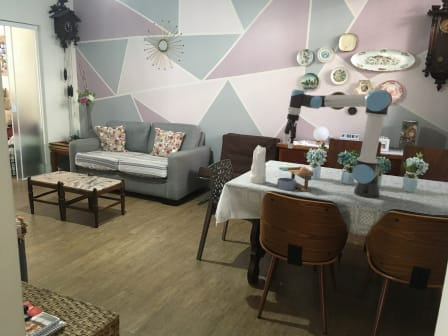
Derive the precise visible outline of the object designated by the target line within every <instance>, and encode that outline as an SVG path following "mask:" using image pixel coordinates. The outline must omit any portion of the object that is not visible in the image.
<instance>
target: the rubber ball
mask: <svg viewBox="0 0 448 336" xmlns="http://www.w3.org/2000/svg"><path fill="white" fill-rule="evenodd" d="M306 169H307V168H306V166H302V167H301V168H300V171H301V172H306Z"/></svg>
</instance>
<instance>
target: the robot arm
mask: <svg viewBox="0 0 448 336" xmlns="http://www.w3.org/2000/svg"><path fill="white" fill-rule="evenodd" d="M392 103H393V96H392V94H391V93H390V92H389V91H387V90H384V89H374V90H372V91H371V92H367V94H334V95H333V94H332V95H331V94H330V95H329V94H327V95H311V94H305V91H304V90H301V89H296V88H294V89H293V90H292V91H291V95H290V100H289V105H288V106H289V107H288V108H287V110H288V111H287V116H286V119H287V122H286V126H285V128H284V130H283V131H284V136H283V142H282V143H283V144H284V145H287V144H288V146H287V149H293V148H294V142H295V140H296V137H297V124H298V123H296V122H299V119H300V114H301V110H302V107H306V108H310V109H316V110H318V109H320V108H365V115H366V122H365V127H364V132H363V139H362V145H361V149H360V154H359V155H360V156H359V157H357V158H356V161H355V167H354V168H353V169H352V177H353V179H354V180H355V181H356V185H355V187H354V190H353V194H354V193H355V194H354V195H356V194H357V195H356V196H359V195H360V196H359V197H362V196H365V197H364V198H369V197H373V198H375V197H376V198H379V197H380V193H381V192H380V188H379V187H380V186H379V177H380V170H381V160H380V159H376V158H377V154H378V147H379V142H380V137H381V134H382V133H381V132H382V127H383V122H384V118H385V117H387V115H388V110H389V108H390V106H391V105H392ZM373 198H372V199H373ZM376 198H375V199H376Z"/></svg>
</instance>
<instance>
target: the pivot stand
mask: <svg viewBox="0 0 448 336" xmlns="http://www.w3.org/2000/svg"><path fill="white" fill-rule="evenodd" d="M290 175H291V177H290V178H292V179H295V178H296V175H295V174H293V173H291V174H290ZM295 180H296V179H295ZM309 181H310V180H309V176H305V179H304V181H303V182H304V185H303V184H301V183H299V182H297V181H296V188H295V190H298V191H300V192H301V193H305V192H312V191H311V189H310V188H309Z"/></svg>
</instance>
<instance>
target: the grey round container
mask: <svg viewBox="0 0 448 336" xmlns="http://www.w3.org/2000/svg"><path fill="white" fill-rule="evenodd" d="M296 182H297V179H292V178H291V177H279V178H278V179H277V185H276V187H277V188H278V190H282V191H294V190H296Z"/></svg>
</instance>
